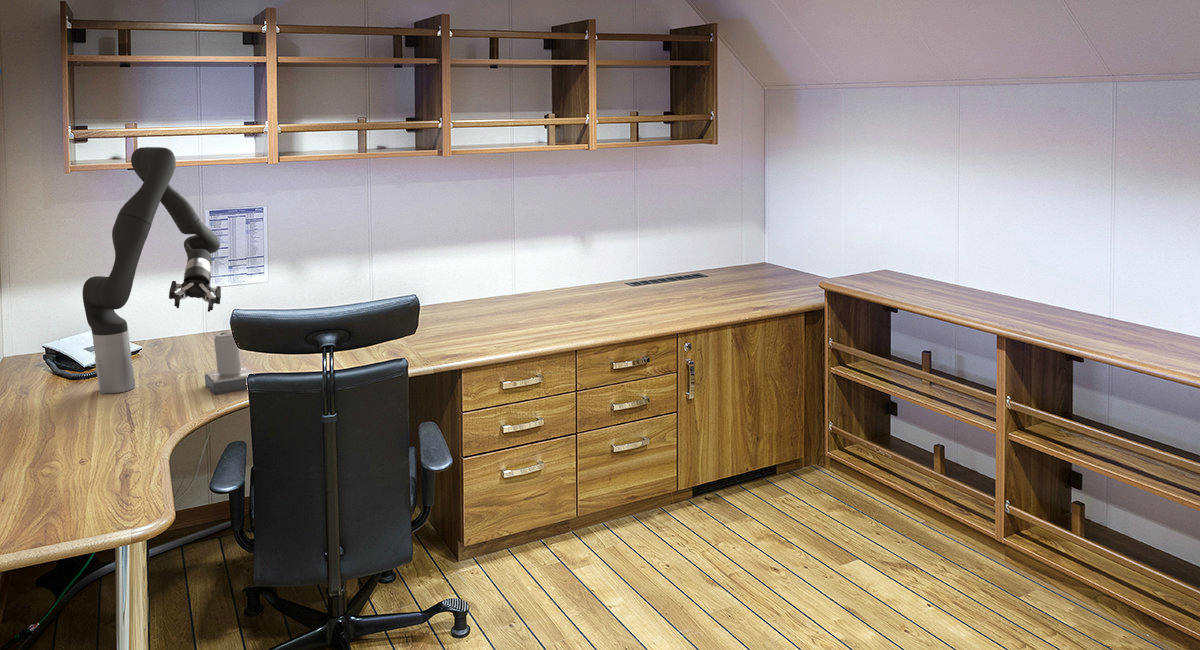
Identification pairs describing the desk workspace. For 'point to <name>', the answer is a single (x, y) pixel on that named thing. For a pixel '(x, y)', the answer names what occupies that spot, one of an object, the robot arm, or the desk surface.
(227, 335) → the beverage can
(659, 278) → the desk surface
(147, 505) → the desk surface
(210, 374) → the stand
